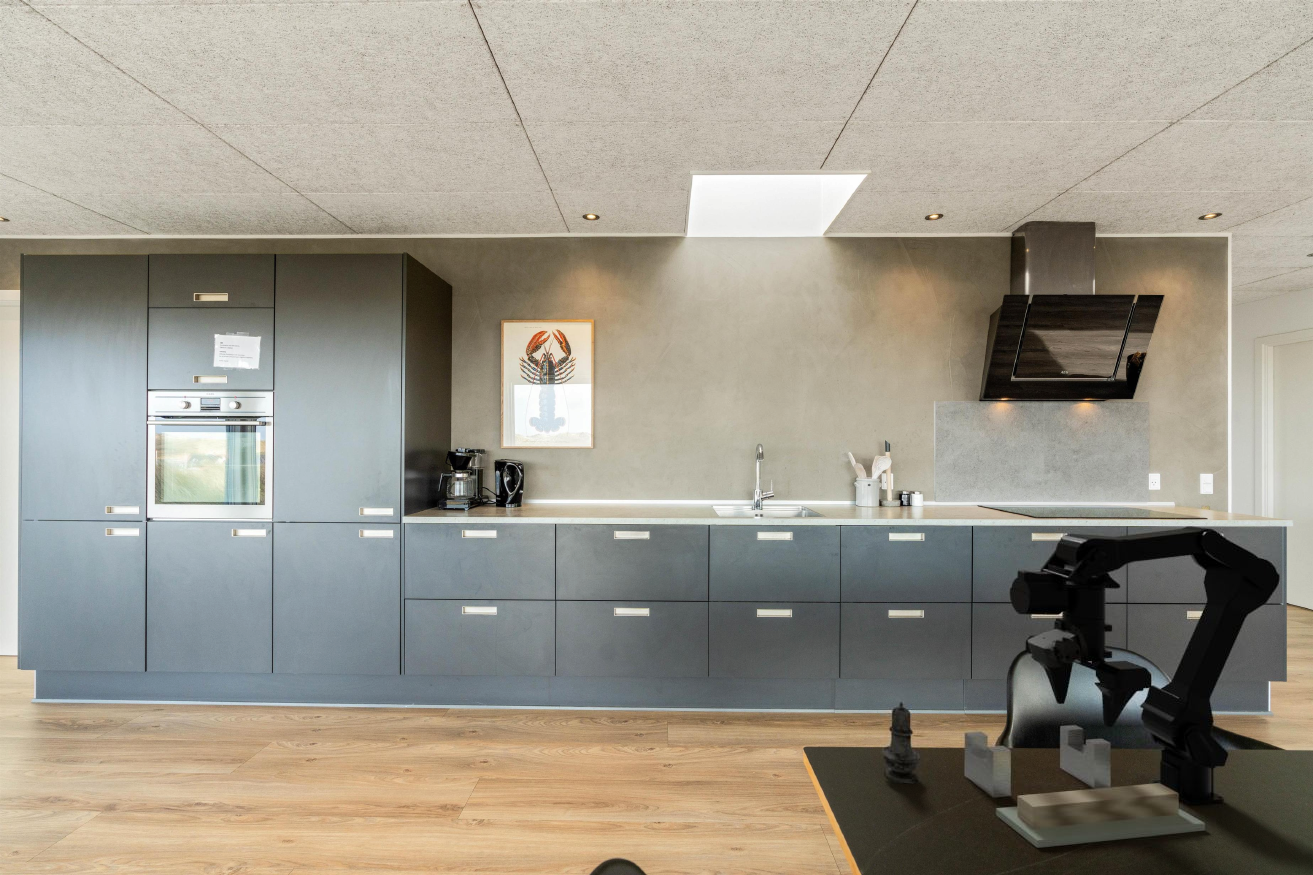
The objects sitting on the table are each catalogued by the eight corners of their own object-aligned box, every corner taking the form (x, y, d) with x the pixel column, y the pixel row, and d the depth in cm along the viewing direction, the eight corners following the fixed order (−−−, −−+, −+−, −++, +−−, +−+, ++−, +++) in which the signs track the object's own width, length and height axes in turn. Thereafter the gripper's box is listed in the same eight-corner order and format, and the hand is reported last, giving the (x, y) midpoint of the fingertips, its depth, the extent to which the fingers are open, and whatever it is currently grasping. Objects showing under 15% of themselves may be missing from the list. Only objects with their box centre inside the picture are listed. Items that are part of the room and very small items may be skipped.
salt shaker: (923, 786, 104) (923, 710, 104) (884, 782, 105) (884, 706, 105) (916, 769, 110) (916, 696, 110) (879, 765, 111) (880, 693, 111)
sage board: (1152, 800, 101) (1152, 793, 101) (1204, 830, 93) (1204, 822, 93) (996, 815, 96) (996, 808, 96) (1037, 847, 88) (1037, 840, 88)
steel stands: (1075, 766, 111) (1075, 724, 112) (1110, 786, 105) (1110, 742, 105) (964, 775, 108) (964, 732, 108) (993, 797, 101) (993, 751, 101)
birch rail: (1159, 803, 98) (1159, 782, 98) (1178, 814, 95) (1178, 793, 95) (1017, 816, 94) (1017, 795, 94) (1033, 828, 91) (1033, 806, 91)
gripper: (997, 602, 111) (997, 695, 111) (1088, 633, 93) (1088, 743, 93) (1054, 601, 113) (1054, 692, 113) (1154, 630, 95) (1154, 739, 95)
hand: (1083, 714), depth 103 cm, fingers open, 9 cm apart
